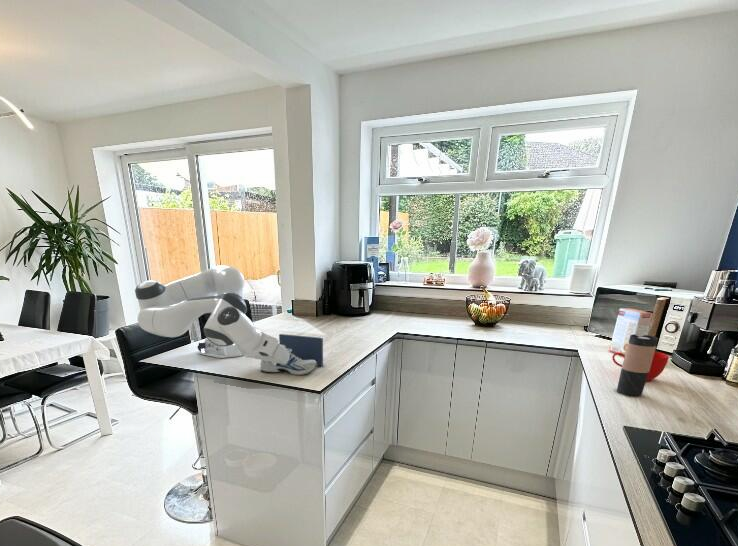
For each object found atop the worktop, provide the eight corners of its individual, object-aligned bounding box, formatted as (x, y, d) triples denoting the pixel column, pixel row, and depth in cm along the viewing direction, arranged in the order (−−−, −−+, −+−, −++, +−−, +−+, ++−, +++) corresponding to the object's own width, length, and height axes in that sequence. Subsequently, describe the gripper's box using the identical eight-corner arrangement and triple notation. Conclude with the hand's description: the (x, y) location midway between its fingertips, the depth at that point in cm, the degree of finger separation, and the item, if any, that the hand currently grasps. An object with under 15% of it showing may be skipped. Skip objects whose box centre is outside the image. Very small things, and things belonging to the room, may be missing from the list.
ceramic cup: (609, 369, 164) (614, 346, 160) (660, 377, 154) (668, 352, 151) (607, 377, 154) (613, 352, 150) (662, 386, 145) (670, 360, 141)
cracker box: (641, 359, 179) (654, 312, 172) (628, 359, 179) (640, 312, 172) (620, 351, 192) (632, 307, 185) (608, 351, 192) (619, 307, 185)
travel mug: (634, 398, 133) (650, 340, 126) (610, 391, 139) (625, 335, 133) (647, 394, 136) (663, 338, 130) (623, 388, 143) (637, 333, 136)
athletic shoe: (316, 375, 153) (316, 344, 152) (257, 375, 154) (256, 344, 153) (318, 373, 163) (317, 344, 162) (262, 373, 164) (262, 344, 163)
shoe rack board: (280, 361, 172) (279, 334, 168) (281, 360, 173) (280, 333, 169) (321, 366, 165) (321, 338, 161) (323, 365, 167) (323, 337, 163)
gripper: (227, 346, 140) (248, 366, 151) (272, 354, 130) (291, 375, 141) (235, 332, 142) (255, 352, 153) (280, 338, 132) (298, 360, 143)
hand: (273, 363), depth 147 cm, fingers closed
